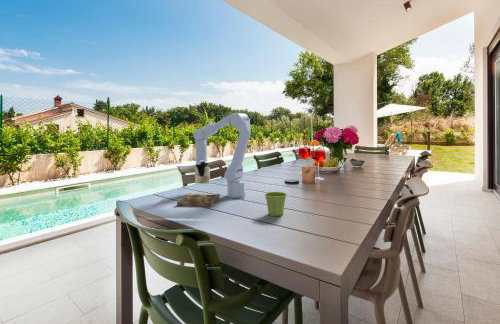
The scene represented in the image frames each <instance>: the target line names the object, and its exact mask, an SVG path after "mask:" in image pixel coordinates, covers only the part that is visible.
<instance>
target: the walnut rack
mask: <svg viewBox="0 0 500 324" xmlns="http://www.w3.org/2000/svg"><path fill="white" fill-rule="evenodd" d="M188 194H192V193H190V192H189V193H188ZM188 194H187V195H188ZM206 194H207V193H206ZM187 195H186V194H185V196H183V197H182V198H180V199H179V200H178V201H176V207H180V208H181V207H183V208H185V207H187V208H190V207H191V208H194V207H195V208H212V207H213V206H214V205H215V204H216V203H217V201H218V200H219V199H220V197H221V194H220V193H217V194H209V193H208V194H207V203H187Z"/></svg>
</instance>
